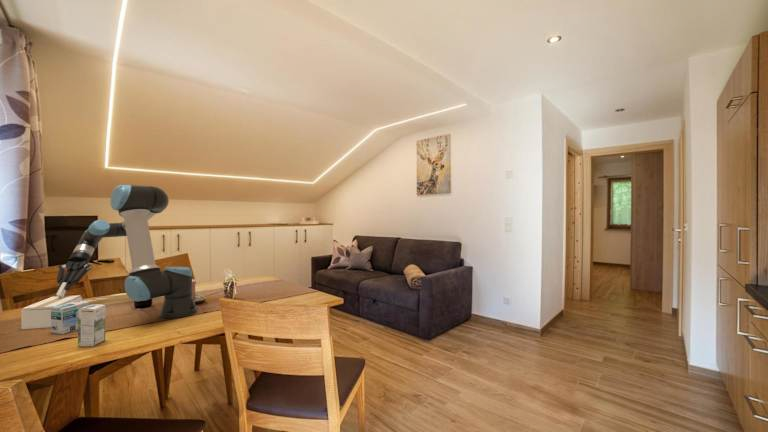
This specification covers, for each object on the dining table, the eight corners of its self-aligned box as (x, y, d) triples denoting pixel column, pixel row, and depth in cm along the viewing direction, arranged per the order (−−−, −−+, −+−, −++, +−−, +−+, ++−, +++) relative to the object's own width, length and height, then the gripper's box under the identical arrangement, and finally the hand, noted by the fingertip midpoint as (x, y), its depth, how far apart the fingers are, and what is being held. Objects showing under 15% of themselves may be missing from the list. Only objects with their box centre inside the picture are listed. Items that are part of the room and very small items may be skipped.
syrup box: (90, 340, 127) (89, 304, 127) (106, 340, 128) (105, 304, 127) (77, 346, 122) (77, 308, 121) (94, 346, 122) (94, 308, 122)
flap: (52, 298, 154) (52, 296, 154) (80, 296, 157) (80, 294, 157) (38, 303, 146) (38, 301, 146) (68, 302, 149) (68, 300, 149)
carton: (51, 315, 154) (51, 296, 154) (82, 313, 158) (82, 294, 157) (21, 329, 137) (21, 307, 137) (56, 326, 140) (56, 305, 140)
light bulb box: (62, 334, 133) (62, 308, 132) (50, 333, 134) (49, 307, 134) (91, 325, 143) (90, 301, 143) (79, 324, 144) (78, 300, 144)
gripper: (100, 259, 171) (80, 299, 155) (69, 259, 167) (46, 300, 152) (94, 250, 166) (72, 291, 150) (62, 250, 162) (37, 292, 146)
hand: (59, 295), depth 151 cm, fingers closed
